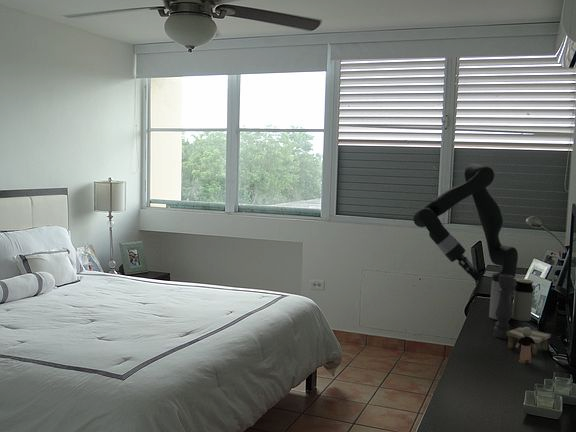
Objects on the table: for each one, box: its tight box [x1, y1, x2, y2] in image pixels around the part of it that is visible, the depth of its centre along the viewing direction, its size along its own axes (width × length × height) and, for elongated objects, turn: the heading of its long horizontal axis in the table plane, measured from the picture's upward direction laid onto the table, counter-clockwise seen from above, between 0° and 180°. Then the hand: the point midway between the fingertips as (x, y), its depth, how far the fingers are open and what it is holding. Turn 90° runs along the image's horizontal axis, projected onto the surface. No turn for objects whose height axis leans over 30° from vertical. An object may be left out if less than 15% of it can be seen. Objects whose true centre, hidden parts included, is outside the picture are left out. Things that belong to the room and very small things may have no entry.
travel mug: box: [511, 278, 534, 322], centre depth 275 cm, size 8×8×18 cm
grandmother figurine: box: [515, 326, 536, 364], centre depth 214 cm, size 8×4×13 cm, turn 111°
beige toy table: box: [506, 326, 552, 356], centre depth 231 cm, size 12×12×6 cm
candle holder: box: [492, 274, 515, 340], centre depth 245 cm, size 6×6×25 cm
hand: (477, 277), depth 247 cm, fingers open, 8 cm apart
